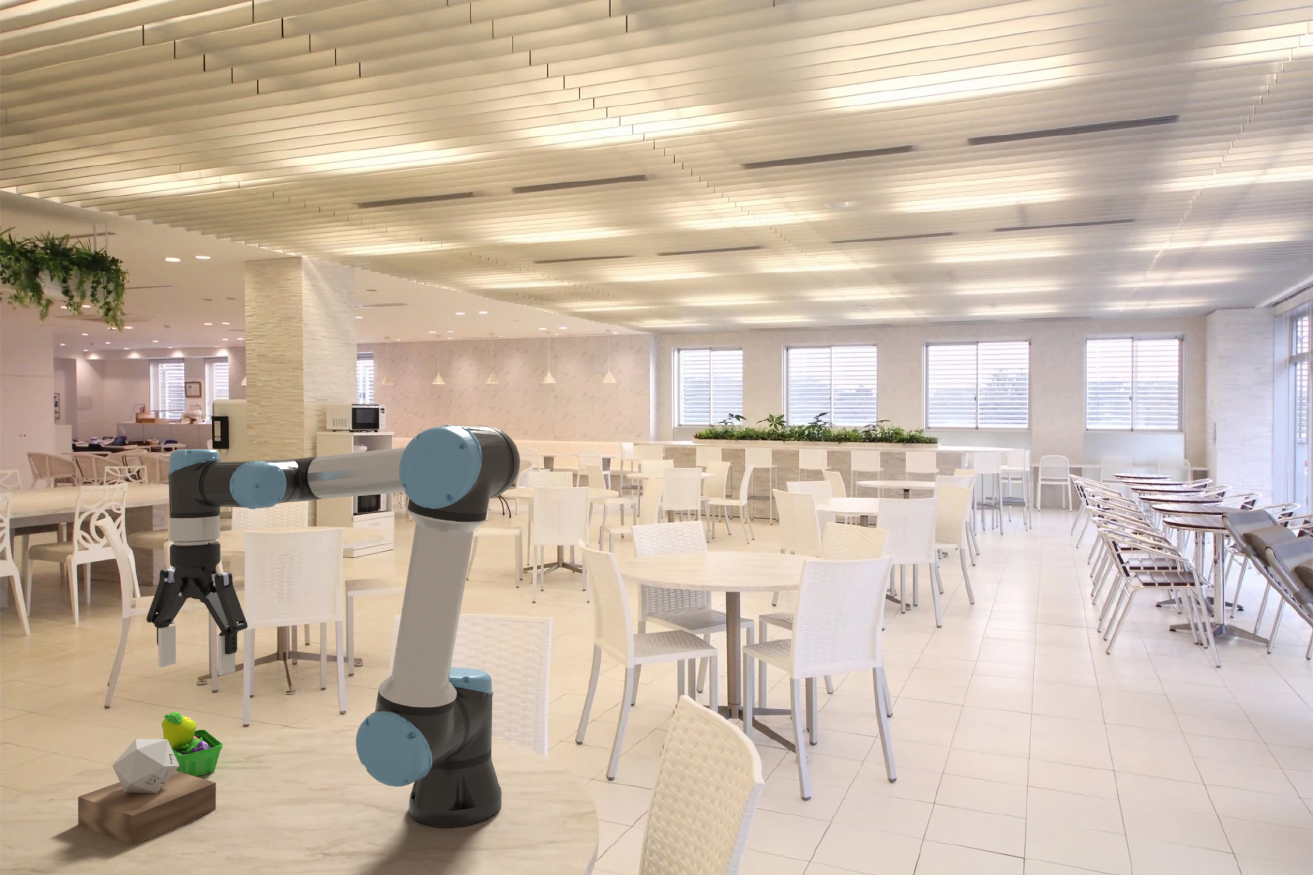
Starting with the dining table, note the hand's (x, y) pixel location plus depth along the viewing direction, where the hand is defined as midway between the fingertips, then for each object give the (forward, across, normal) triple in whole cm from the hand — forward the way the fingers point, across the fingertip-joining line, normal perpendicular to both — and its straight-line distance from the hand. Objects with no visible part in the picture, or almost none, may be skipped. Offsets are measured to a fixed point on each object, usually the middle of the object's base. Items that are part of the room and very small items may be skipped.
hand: (196, 669), depth 147 cm
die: (+18, +4, +6) cm, 20 cm away
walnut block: (+23, +4, +6) cm, 24 cm away
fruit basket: (+23, +15, -11) cm, 29 cm away
